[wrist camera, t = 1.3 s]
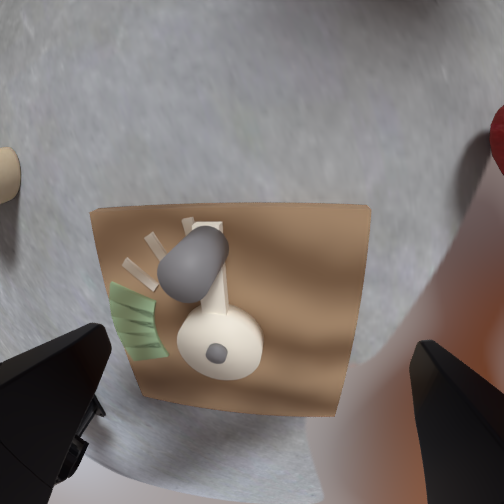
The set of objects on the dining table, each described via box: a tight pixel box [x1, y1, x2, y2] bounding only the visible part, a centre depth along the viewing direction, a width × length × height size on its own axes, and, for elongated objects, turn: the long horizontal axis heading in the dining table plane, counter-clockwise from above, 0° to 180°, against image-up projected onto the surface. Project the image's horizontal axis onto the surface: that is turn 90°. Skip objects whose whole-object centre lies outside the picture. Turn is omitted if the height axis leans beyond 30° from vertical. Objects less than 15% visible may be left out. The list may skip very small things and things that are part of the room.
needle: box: [157, 222, 264, 380], centre depth 17 cm, size 12×6×5 cm, turn 2°
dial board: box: [90, 203, 371, 417], centre depth 21 cm, size 19×19×2 cm
